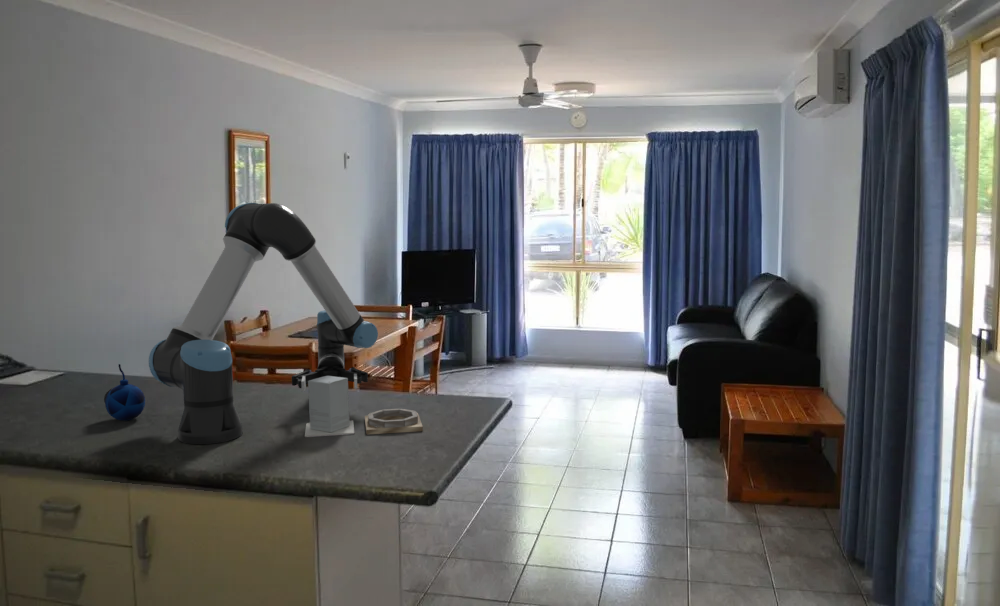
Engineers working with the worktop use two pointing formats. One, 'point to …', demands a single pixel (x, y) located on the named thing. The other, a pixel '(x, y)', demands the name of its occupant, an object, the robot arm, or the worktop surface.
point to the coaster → (342, 431)
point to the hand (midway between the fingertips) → (329, 385)
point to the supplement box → (328, 403)
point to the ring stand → (393, 421)
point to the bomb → (124, 400)
